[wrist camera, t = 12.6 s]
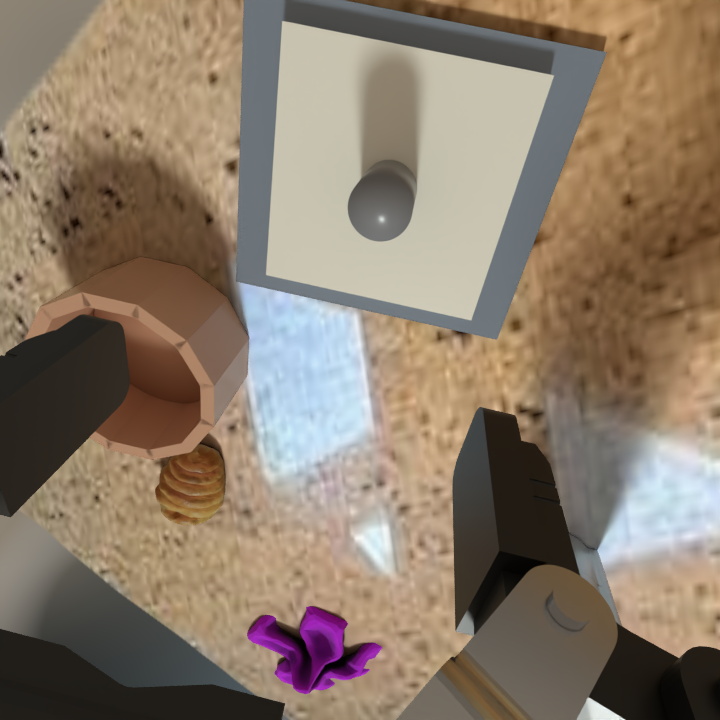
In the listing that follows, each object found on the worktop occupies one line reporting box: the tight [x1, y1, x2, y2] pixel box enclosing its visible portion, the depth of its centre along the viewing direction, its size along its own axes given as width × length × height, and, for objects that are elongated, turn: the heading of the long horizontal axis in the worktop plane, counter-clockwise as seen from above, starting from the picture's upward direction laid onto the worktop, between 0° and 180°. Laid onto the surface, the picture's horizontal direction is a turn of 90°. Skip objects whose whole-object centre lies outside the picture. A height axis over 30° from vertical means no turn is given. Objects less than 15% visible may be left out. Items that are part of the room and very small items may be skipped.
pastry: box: [155, 444, 225, 525], centre depth 47 cm, size 9×7×4 cm
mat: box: [236, 0, 607, 339], centre depth 30 cm, size 20×18×1 cm
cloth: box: [247, 606, 382, 694], centre depth 61 cm, size 22×19×6 cm
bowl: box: [25, 257, 249, 460], centre depth 37 cm, size 14×14×7 cm
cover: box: [266, 21, 554, 320], centre depth 28 cm, size 15×15×6 cm
